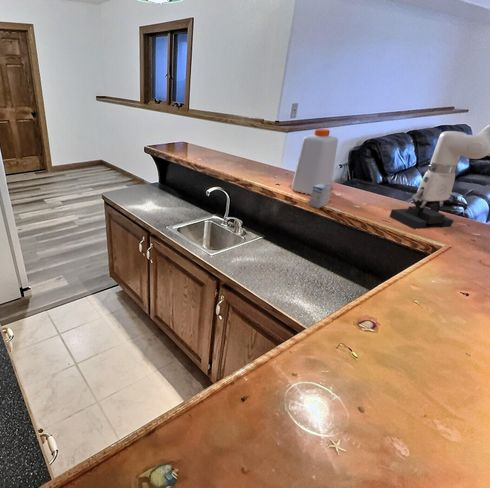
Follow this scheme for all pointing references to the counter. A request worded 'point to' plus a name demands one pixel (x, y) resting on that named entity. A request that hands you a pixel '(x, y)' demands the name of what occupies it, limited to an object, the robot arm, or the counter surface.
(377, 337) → the counter surface
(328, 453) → the counter surface
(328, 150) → the plastic bottle
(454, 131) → the robot arm
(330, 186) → the medicine box
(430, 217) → the black pad
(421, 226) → the base pad
